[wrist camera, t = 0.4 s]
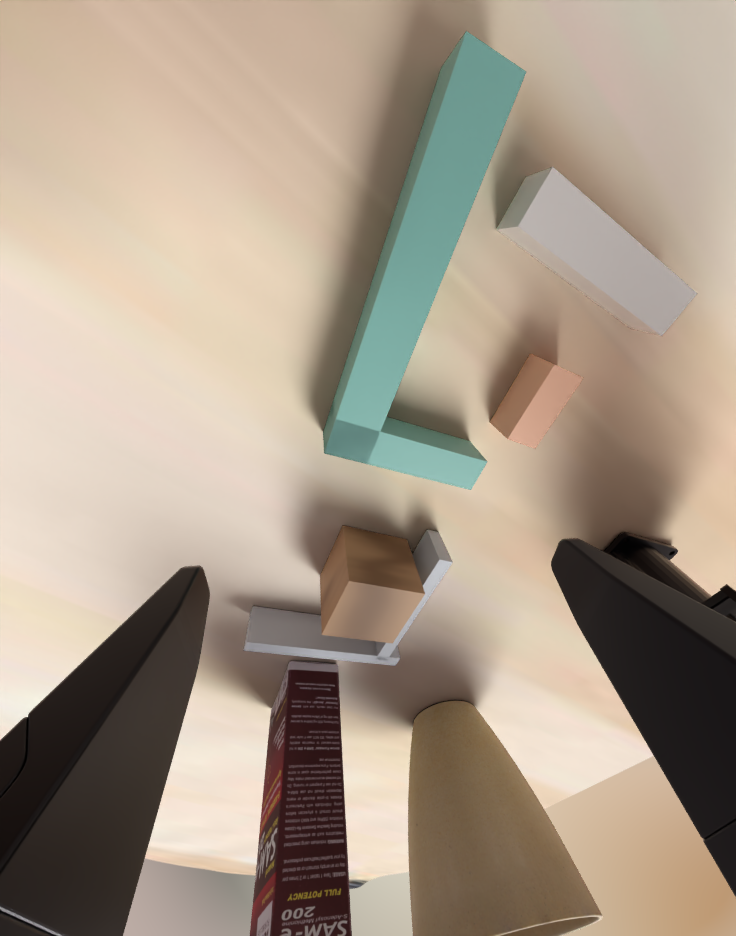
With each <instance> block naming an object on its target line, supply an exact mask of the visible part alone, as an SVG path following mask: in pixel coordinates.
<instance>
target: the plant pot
mask: <svg viewBox="0 0 736 936" xmlns="http://www.w3.org/2000/svg"><path fill="white" fill-rule="evenodd" d="M408 845H409V876H410V896H411V912H412V927H413V936H561V935H564V934H567V933H570V932H573V931H576V930H578V929H581V928H583V927H586V926H589V925H591V924H593V923H595V922H598V921H599V920H601V919H602V918H603V916H602V914H601V912H600V910H599V908H598V907H597V905H596V903H595V901H594V899H593V897H592V895H591V894H590V892H589V890H588V888H587V886H586V884H585V882H584V880H583V879H582V877H581V875H580V873H579V871H578V869H577V868H576V866H575V864H574V862H573V860H572V859H571V856H570V855H569V853H568V851H567V849H566V848H565V845H564V844H563V842H562V840H561V838H560V836H559V835H558V833H557V831H556V829H555V827H554V826H553V824H552V822H551V820H550V819H549V817H548V815H547V814H546V812H545V810H544V809H543V807H542V805H541V804H540V802H539V800H538V799H537V797H536V795H535V794H534V792H533V790H532V789H531V787H530V786H529V784H528V782H527V781H526V779H525V778H524V776H523V775H522V773H521V771H520V770H519V768H518V767H517V765H516V764H515V762H514V761H513V759H512V758H511V756H510V755H509V753H508V752H507V750H506V749H505V748H504V746H503V745H502V743H501V742H500V740H499V739H498V738H497V736H496V735H495V733H494V732H493V730H492V729H491V728H490V726H489V725H488V724H487V722H486V721H485V720H484V718H483V717H482V716H481V714H480V713H479V712H478V711H477V709H476V708H475V707H474V706H473V705H472V704H471V703H468V702H465V701H447V702H442V703H438V704H436V705H433V706H431V707H428V708H427V709H425V710H423V711H422V712H421V713H419V714H418V715H417V717H416V718H415V720H414V723H413V732H412V742H411V754H410V770H409V797H408Z"/></svg>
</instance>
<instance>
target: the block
mask: <svg viewBox="0 0 736 936" xmlns="http://www.w3.org/2000/svg"><path fill="white" fill-rule="evenodd" d="M320 589H321V629H322V635H327V636H335V637H343V638H352V639H360V640H368V641H376V642H385V643H393V642H394V641H395V639H396V638H397V636H398V635H399V633H400V632H401V630H402V629H403V627H404V625H405V624H406V622H407V621H408V619H409V618H410V616H411V615H412V613H413V612H414V610H415V609H416V607H417V606H418V604H419V603H420V601H421V600H422V598H423V597H424V595H425V592H424V589H423V586H422V583H421V580H420V577H419V574H418V571H417V568H416V565H415V562H414V559H413V556H412V553H411V550H410V547H409V544H408V541H407V539H403V538H398V537H394V536H389V535H385V534H380V533H376V532H371V531H367V530H362V529H357V528H353V527H348V526H344V525H343V526H342V528H341V530H340V532H339V535H338V537H337V539H336V541H335V543H334V546H333V548H332V550H331V552H330V555H329V557H328V559H327V561H326V563H325V566H324V568H323V570H322V572H321V575H320Z"/></svg>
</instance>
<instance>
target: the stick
mask: <svg viewBox="0 0 736 936" xmlns="http://www.w3.org/2000/svg"><path fill="white" fill-rule="evenodd" d="M496 230H497V231H499V232H500V233H501V234H503V235H504V236H505V237H507V238H508V239H509V240H511V241H512V242H513V243H515V244H516V245H518V246H519V247H520V248H522V249H523V250H524V251H526V252H527V253H528V254H530V255H531V256H532V257H534V258H535V259H537V260H538V261H539V262H541V263H542V264H543V265H545V266H546V267H547V268H549V269H550V270H551V271H553V272H554V273H556V274H557V275H558V276H560V277H561V278H562V279H564V280H565V281H566V282H568V283H569V284H570V285H572V286H573V287H575V288H576V289H577V290H579V291H580V292H581V293H583V294H584V295H585V296H587V297H588V298H589V299H591V300H592V301H593V302H595V303H596V304H598V305H599V306H600V307H602V308H603V309H604V310H606V311H607V312H608V313H610V314H611V315H612V316H614V317H615V318H617V319H618V320H619V321H621V322H622V323H623V324H625V325H626V326H627V327H629V328H630V329H634V330H638V331H642V332H647V333H651V334H655V335H660V336H662V335H663V334H664V333H665V332H666V330H667V329H668V328H669V327H670V326H671V324H672V323H673V322H674V321H675V320H676V318H677V317H678V316H679V315H680V314H681V312H682V311H683V310H684V309H685V308H686V307H687V305H688V304H689V303H690V302H691V301H692V299H693V298H694V297H695V296H696V295H697V293H696V292H695V291H694V290H693V289H692V288H691V287H689V286H688V285H687V284H686V283H685V282H684V281H683V280H682V279H680V278H679V277H678V276H677V275H676V274H675V273H674V272H672V271H671V270H670V269H669V268H668V267H667V266H666V265H664V264H663V263H662V262H661V261H660V260H659V259H658V258H656V257H655V256H654V255H653V254H652V253H651V252H650V251H648V250H647V249H646V248H645V247H644V246H643V245H642V244H640V243H639V242H638V241H637V240H636V239H635V238H634V237H632V236H631V235H630V234H629V233H628V232H627V231H626V230H625V229H623V228H622V227H621V226H620V225H619V224H618V223H617V222H615V221H614V220H613V219H612V218H611V217H610V216H609V215H607V214H606V213H605V212H604V211H603V210H602V209H601V208H599V207H598V206H597V205H596V204H595V203H594V202H593V201H591V200H590V199H589V198H588V197H587V196H586V195H585V194H583V193H582V192H581V191H580V190H579V189H578V188H577V187H575V186H574V185H573V184H572V183H571V182H570V181H569V180H568V179H566V178H565V177H564V176H563V175H562V174H561V173H560V172H558V171H557V170H556V169H555V168H554V167H551V168H548V169H546V170H543V171H540V172H537V173H535V174H532V175H529V176H527V177H525V179H524V181H523V183H522V184H521V186H520V188H519V190H518V191H517V193H516V195H515V197H514V199H513V200H512V202H511V204H510V206H509V207H508V209H507V211H506V213H505V215H504V216H503V218H502V220H501V222H500V223H499V225H498V227H497V229H496Z"/></svg>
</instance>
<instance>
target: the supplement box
mask: <svg viewBox="0 0 736 936" xmlns="http://www.w3.org/2000/svg"><path fill="white" fill-rule="evenodd" d="M250 936H352V931H351V914H350V895H349V874H348V855H347V836H346V819H345V801H344V781H343V761H342V741H341V721H340V698H339V675H338V665H337V664H330V663H319V662H302V661H290V662H289V664H288V667H287V670H286V673H285V676H284V678H283V682H282V684H281V687H280V690H279V692H278V695H277V698H276V700H275V702H274V705H273V707H272V709H271V717H270V727H269V738H268V748H267V759H266V770H265V780H264V791H263V802H262V813H261V822H260V834H259V846H258V857H257V867H256V878H255V888H254V899H253V909H252V919H251V930H250Z"/></svg>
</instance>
